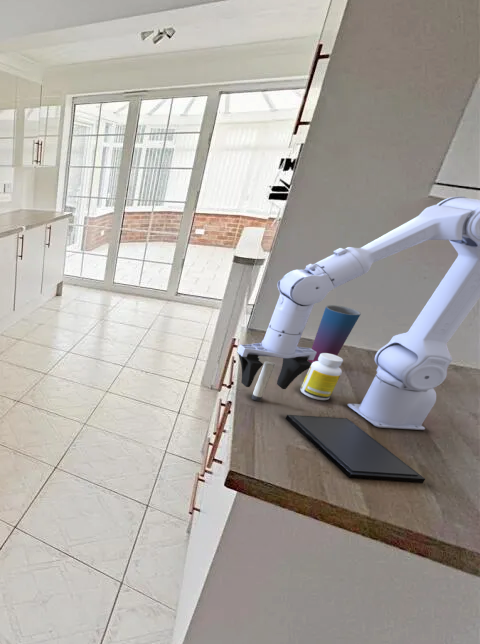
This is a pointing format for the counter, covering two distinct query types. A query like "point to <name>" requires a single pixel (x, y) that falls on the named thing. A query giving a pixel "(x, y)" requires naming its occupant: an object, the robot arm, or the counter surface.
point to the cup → (334, 329)
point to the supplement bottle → (322, 377)
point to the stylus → (262, 380)
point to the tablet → (353, 449)
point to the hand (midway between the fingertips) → (263, 385)
